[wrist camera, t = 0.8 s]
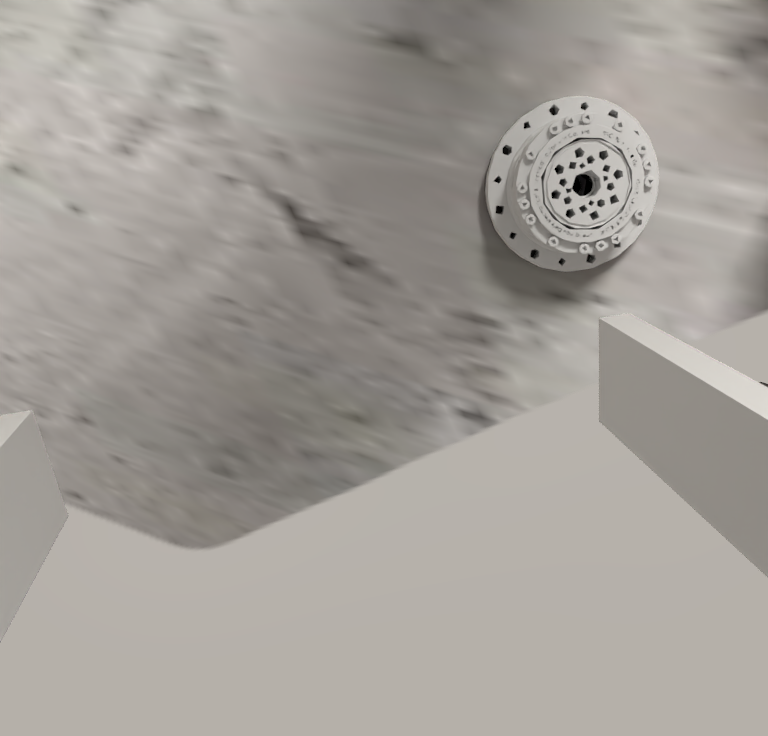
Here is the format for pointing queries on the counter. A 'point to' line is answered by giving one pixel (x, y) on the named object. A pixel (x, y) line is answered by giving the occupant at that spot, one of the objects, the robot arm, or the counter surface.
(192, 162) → the counter surface
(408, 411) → the counter surface
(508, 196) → the mechanical component
